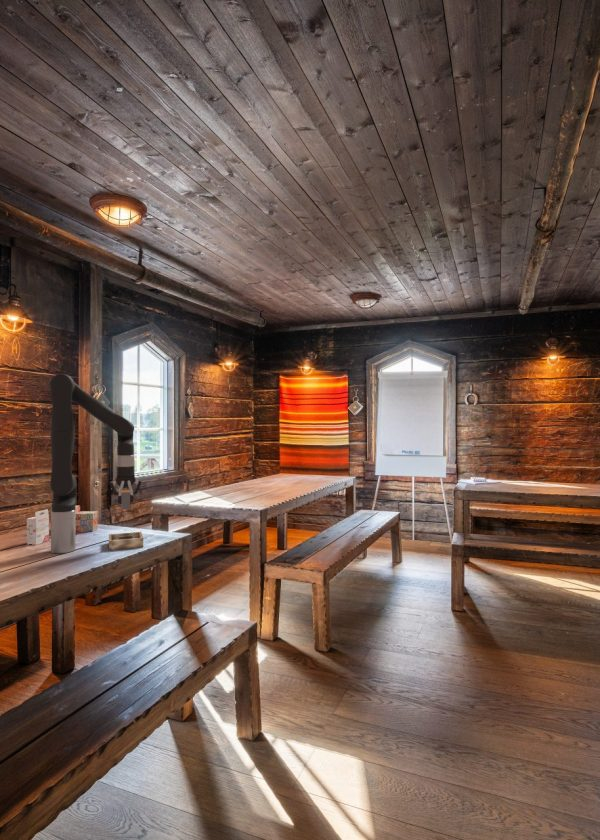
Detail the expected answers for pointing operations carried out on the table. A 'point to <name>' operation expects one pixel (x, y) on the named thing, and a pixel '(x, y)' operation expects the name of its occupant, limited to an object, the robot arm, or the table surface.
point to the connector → (125, 498)
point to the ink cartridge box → (38, 528)
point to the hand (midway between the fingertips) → (125, 503)
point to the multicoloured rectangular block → (84, 520)
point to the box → (125, 541)
